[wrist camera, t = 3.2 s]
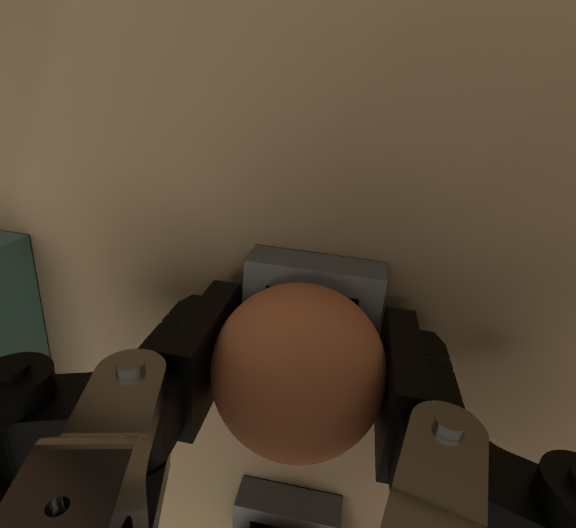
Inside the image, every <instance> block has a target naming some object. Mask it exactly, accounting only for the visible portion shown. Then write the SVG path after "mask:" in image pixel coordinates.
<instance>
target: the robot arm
mask: <svg viewBox="0 0 576 528" xmlns="http://www.w3.org/2000/svg"><path fill="white" fill-rule="evenodd" d="M241 304H242V285H241V284H238V283H231V282H224V281H218V280H214V281H213V282H212V283H211V285H210V286H209V287H208V288H207V290H206V291H205V292H204V294H203V295H202V296H201V295H194V294H193V295H191V296H189V297H187V298H185V299H183V300H181V301H179V302H178V303H177V304H176V305H175V306H174V307H173V309H172V310H171V311H170V312H169V314H167V315H166V317H165V318H164V319H163V320H162V323H159V325H158V326H157V327H156V328H155V329H154V330H153V331H152V333H151V334H150V335H149V336H148V337H147V338H146V339H145V341H144V342H143V343H142V344H141V345H140V346H139V347H138V349H128V350H123V351H119V352H116V353H114V354H112V355H110V356H108V357H106V358H105V359H103V360H102V361H101V362H100V363H99V364H98V365H97V366H96V368H95V370H94V372H89V373H70V374H55V369H54V363H53V360H52V359H51V358H50V357H49V356H47V355H45V354H42V353H38V352H19V353H13V354H9V355H5V356H2V357H0V528H158V524H159V519H160V514H161V509H162V504H163V499H164V494H165V489H166V484H167V479H168V474H169V469H170V453H171V452H172V450H173V448H174V446H175V444H176V442H177V441H181V442H186V443H191V444H193V442H194V440H195V438H196V436H197V434H198V432H199V430H200V428H201V426H202V424H203V422H204V419H205V417H206V415H207V413H208V411H209V409H210V407H211V405H212V403H213V401H214V398H213V393H212V388H211V380H210V367H211V358H212V354H213V349H214V345H215V342H216V340H217V337H218V335H219V333H220V331H221V328H222V327H223V325H224V324H225V322H226V320H227V319H228V318H229V316H230V315H231V314H232V313H233V312H234V311H235V309H236V308H237V307H238V306H240V305H241ZM380 339H381V341H382V344H383V347H384V351H385V356H386V362H387V375H386V386H385V394H384V399H383V403H382V407H381V410H380V412H379V414H378V416H377V418H376V420H375V469H376V482H381V483H386V484H389V488H390V493H389V497H388V500H387V504H386V508H385V512H384V516H383V519H382V523H381V527H380V528H576V452H573V451H568V450H552V451H549V452H547V453H545V454H544V455H543V456H542V458H541V460H540V462H539V464H537V463H534V462H532V461H530V460H527V459H525V458H522V457H520V456H517V455H515V454H513V453H510V452H508V451H506V450H504V449H502V448H500V447H498V446H496V445H494V444H493V443H491V442H490V441H489V436H488V433H487V431H486V429H485V427H484V426H483V424H482V423H481V422H480V421H479V420H478V419H477V418H476V417H475V416H474V415H473V414H471V413H470V412H468V411H467V410H465V407H464V404H463V400H462V397H461V394H460V390H459V387H458V384H457V380H456V377H455V374H454V372H453V367H452V364H451V361H449V359H450V357H449V354H448V351H447V347H446V345H445V344H444V342H443V341H442V340H441V339H440V338H439V337H438V336H437V335H436V334H435V333H434V332H430V331H423V330H419V325H418V320H417V316H416V312H415V310H409V309H402V308H395V307H389V306H387V307H386V309H385V312H384V317H383V322H382V327H381V332H380Z"/></svg>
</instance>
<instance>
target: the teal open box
mask: <svg viewBox="0 0 576 528" xmlns="http://www.w3.org/2000/svg"><path fill="white" fill-rule="evenodd" d="M19 352H38V353H42V354H45V355H47V356H49V357H50V355H49V349H48V343H47V337H46V332H45V326H44V320H43V314H42V308H41V303H40V297H39V291H38V285H37V280H36V274H35V268H34V262H33V257H32V251H31V245H30V239H29V235H28V234H21V233H14V232H7V231H0V357H2V356H5V355H9V354H13V353H19Z"/></svg>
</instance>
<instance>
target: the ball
mask: <svg viewBox="0 0 576 528" xmlns="http://www.w3.org/2000/svg"><path fill="white" fill-rule="evenodd" d="M386 375H387V362H386V356H385V351H384V347H383V344H382V341H381V339H380V336H379V334H378V332H377V330H376V328H375V327H374V325H373V323H372V322H371V321H370V319H369V318H368V316H367V315H366V314H365V313H364V312H363V311H362V310H361V309H360V308H359V306H358V305H356V304H355V303H354V302H353V301H351V300H350V299H349V298H347V297H346V296H344V295H343V294H341V293H339V292H337V291H335V290H333V289H330V288H327V287H324V286H321V285H317V284H312V283H303V282H293V283H284V284H279V285H275V286H272V287H269V288H266V289H264V290H262V291H260V292H257V293H256V294H254V295H253V296H251V297H249V298H248V299H247V300H246V301H244V302H243V303H242V304H241V305H240V306H238V307H237V308H236V309H235V311H234V312H233V313H232V314H231V315H230V316H229V318H228V319H227V320H226V322H225V324H224V325H223V327H222V328H221V331H220V333H219V335H218V337H217V340H216V342H215V345H214V349H213V354H212V358H211V367H210V380H211V388H212V393H213V398H214V401H215V404H216V407H217V409H218V412H219V414H220V416H221V418H222V420H223V422H224V423H225V425H226V426H227V427H228V429H229V430H230V431H231V433H232V434H233V435H234V436H235V437H236V438H237V439H238V440H239V441H240V442H241V443H242V444H243V445H244V446H246V447H247V448H248V449H250V450H251V451H253V452H255V453H256V454H258V455H260V456H262V457H264V458H267V459H269V460H272V461H275V462H279V463H284V464H290V465H310V464H316V463H320V462H324V461H327V460H330V459H332V458H335V457H337V456H339V455H341V454H342V453H344V452H346V451H347V450H349V449H350V448H351V447H353V446H354V445H355V444H357V443H358V442H359V441H360V440H361V439H362V438H363V437H364V435H365V434H366V433H367V432H368V431H369V429H370V428H371V426H372V425H373V424H374V422H375V420H376V418H377V416H378V414H379V412H380V410H381V407H382V403H383V399H384V394H385V386H386Z"/></svg>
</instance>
